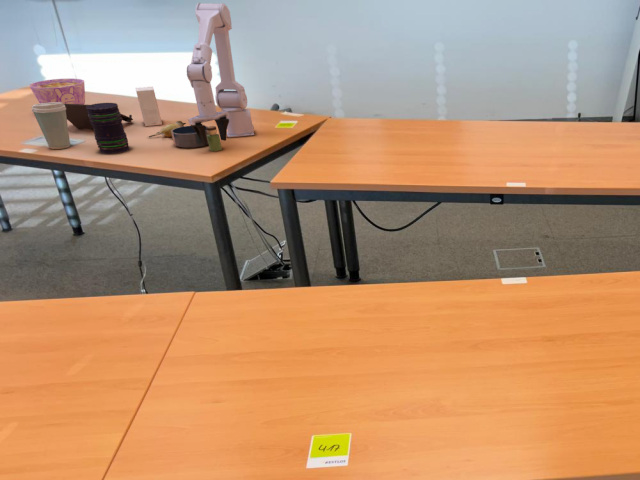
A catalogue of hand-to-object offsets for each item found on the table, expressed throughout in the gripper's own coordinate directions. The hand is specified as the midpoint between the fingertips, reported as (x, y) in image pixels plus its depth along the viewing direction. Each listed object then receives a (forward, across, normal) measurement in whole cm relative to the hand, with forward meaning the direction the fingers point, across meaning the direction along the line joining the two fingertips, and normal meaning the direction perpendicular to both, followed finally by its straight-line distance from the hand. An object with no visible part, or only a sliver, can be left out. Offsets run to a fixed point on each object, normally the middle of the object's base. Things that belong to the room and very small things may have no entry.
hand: (214, 142), depth 254 cm
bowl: (+2, 0, +13) cm, 13 cm away
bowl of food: (+3, -2, +100) cm, 100 cm away
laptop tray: (+3, -7, +65) cm, 66 cm away
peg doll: (+2, 0, 0) cm, 2 cm away
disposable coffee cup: (+3, -30, +48) cm, 56 cm away
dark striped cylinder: (+3, -21, +28) cm, 35 cm away
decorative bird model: (+3, 0, +30) cm, 30 cm away
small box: (+3, +9, +53) cm, 53 cm away
